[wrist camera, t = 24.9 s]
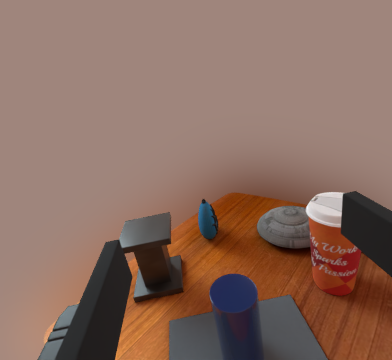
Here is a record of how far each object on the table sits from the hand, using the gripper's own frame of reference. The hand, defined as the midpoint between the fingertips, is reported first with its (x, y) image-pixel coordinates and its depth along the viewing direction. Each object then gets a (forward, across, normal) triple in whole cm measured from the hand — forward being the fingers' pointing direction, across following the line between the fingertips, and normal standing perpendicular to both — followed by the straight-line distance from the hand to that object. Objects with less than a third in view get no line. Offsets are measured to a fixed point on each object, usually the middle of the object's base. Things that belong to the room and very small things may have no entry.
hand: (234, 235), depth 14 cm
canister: (+9, 0, -25) cm, 27 cm away
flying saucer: (+32, +18, -26) cm, 45 cm away
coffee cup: (+18, +18, -26) cm, 36 cm away
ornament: (+37, 0, -26) cm, 46 cm away
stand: (+26, -12, -26) cm, 39 cm away
